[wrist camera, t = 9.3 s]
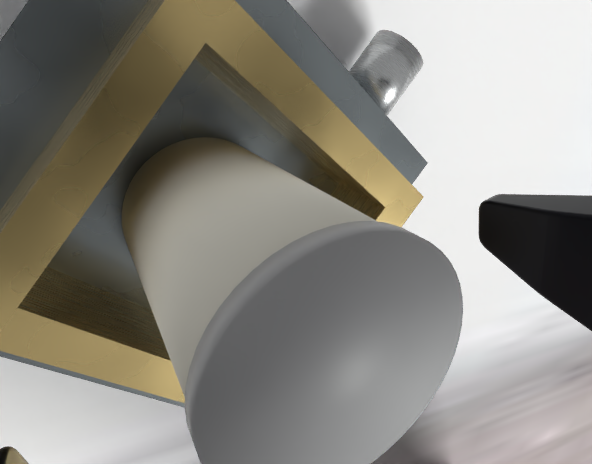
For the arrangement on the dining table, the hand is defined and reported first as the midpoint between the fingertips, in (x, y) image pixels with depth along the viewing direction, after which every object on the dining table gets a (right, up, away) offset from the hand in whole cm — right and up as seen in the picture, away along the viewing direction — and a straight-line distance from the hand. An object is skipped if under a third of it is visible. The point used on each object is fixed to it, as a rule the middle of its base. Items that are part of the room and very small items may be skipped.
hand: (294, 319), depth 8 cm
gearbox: (-3, +4, +7) cm, 9 cm away
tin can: (-3, +2, +5) cm, 6 cm away
